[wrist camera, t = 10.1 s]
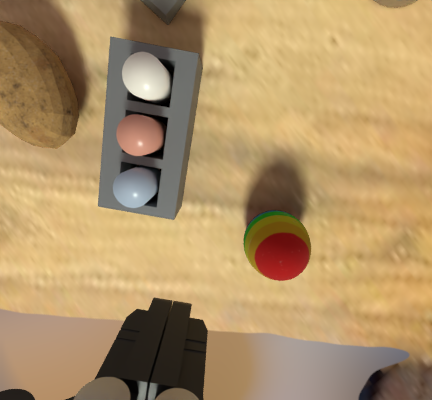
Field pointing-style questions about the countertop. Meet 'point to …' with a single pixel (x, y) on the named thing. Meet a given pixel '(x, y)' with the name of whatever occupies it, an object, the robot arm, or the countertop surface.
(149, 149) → the brown egg
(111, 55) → the grey rectangular block
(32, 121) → the potato
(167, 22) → the soap mold
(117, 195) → the blue grey egg
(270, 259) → the decorative egg
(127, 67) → the white egg
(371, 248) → the countertop surface
